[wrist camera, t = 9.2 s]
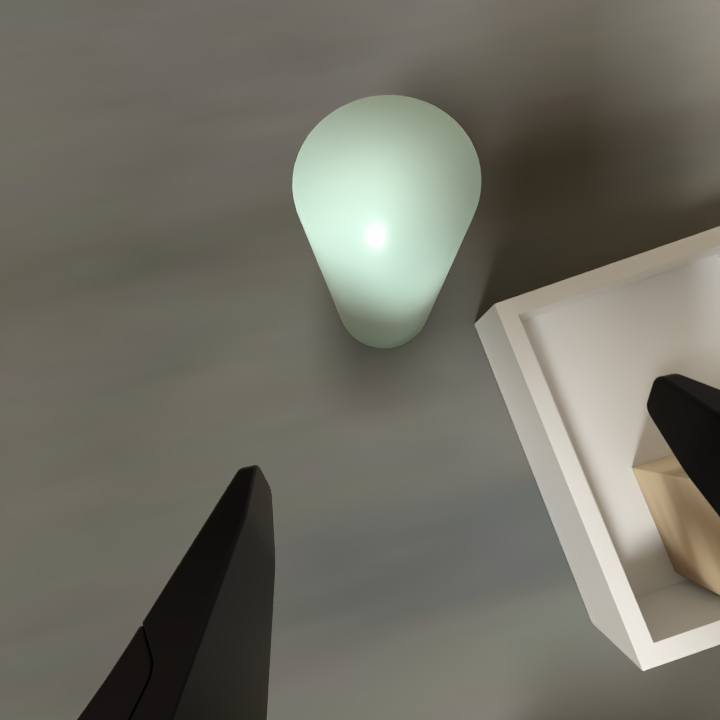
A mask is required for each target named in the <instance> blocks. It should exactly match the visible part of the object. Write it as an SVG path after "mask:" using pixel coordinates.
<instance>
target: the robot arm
mask: <svg viewBox="0 0 720 720" xmlns="http://www.w3.org/2000/svg"><path fill="white" fill-rule="evenodd" d="M647 410H648V413H649V415H650V417H651V418H652V420H653V421H654V423H655V425H656V426H657V428H658V430H659V431H660V433H661V434H662V436H663V438H664V439H665V441H666V442H667V444H668V446H669V447H670V449H671V451H672V452H673V454H674V455H675V457H676V459H677V460H678V462H679V463H680V465H681V466H682V468H683V469H684V471H685V472H686V474H687V475H688V477H689V478H690V479H691V481H692V482H693V483H694V485H695V486H696V487H697V489H698V490H699V491H700V492H701V494H702V495H703V496H704V498H705V499H706V500H707V502H708V503H709V504H710V505H711V507H712V508H713V509H714V511H715V512H716V513H717V514H718V516H719V517H720V389H717V388H715V387H712V386H709V385H707V384H704V383H702V382H699V381H696V380H694V379H691V378H689V377H686V376H683V375H680V374H668V375H664V376H659V377H657V378H656V379H655V380H654V382H653V384H652V388H651V391H650V394H649V397H648V400H647ZM274 579H275V545H274V527H273V510H272V494H271V489H270V486H269V484H268V482H267V480H266V479H265V477H264V475H263V473H262V471H261V469H260V467H259V466H257V465H253V466H249V467H244V468H241V469H240V470H238V472H237V473H236V475H235V476H234V478H233V479H232V481H231V483H230V484H229V486H228V487H227V489H226V491H225V492H224V494H223V495H222V497H221V499H220V500H219V502H218V503H217V505H216V507H215V508H214V510H213V511H212V513H211V514H210V516H209V518H208V519H207V521H206V522H205V524H204V526H203V527H202V529H201V530H200V532H199V534H198V535H197V537H196V538H195V540H194V542H193V543H192V545H191V546H190V548H189V549H188V551H187V553H186V554H185V556H184V557H183V559H182V561H181V562H180V564H179V565H178V567H177V569H176V570H175V572H174V573H173V575H172V577H171V578H170V580H169V581H168V583H167V584H166V586H165V588H164V589H163V591H162V592H161V594H160V596H159V597H158V599H157V600H156V602H155V604H154V605H153V607H152V608H151V610H150V612H149V613H148V615H147V616H146V618H145V620H144V621H143V626H141V627H139V629H138V630H137V632H136V634H135V635H134V637H133V638H132V640H131V642H130V643H129V645H128V646H127V648H126V649H125V651H124V652H123V654H122V655H121V657H120V659H119V660H118V662H117V663H116V665H115V666H114V668H113V669H112V671H111V672H110V674H109V675H108V677H107V678H106V680H105V681H104V683H103V684H102V685H101V687H100V688H99V690H98V691H97V693H96V694H95V695H94V697H93V698H92V700H91V701H90V702H89V704H88V705H87V707H86V708H85V710H84V711H83V712H82V714H81V715H80V717H79V718H78V719H77V720H267V702H268V685H269V667H270V649H271V632H272V614H273V596H274Z"/></svg>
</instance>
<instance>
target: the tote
mask: <svg viewBox="0 0 720 720" xmlns="http://www.w3.org/2000/svg"><path fill="white" fill-rule="evenodd" d="M475 327H476V329H477V332H478V335H479V337H480V340H481V342H482V345H483V347H484V350H485V352H486V355H487V357H488V360H489V362H490V365H491V368H492V370H493V373H494V375H495V378H496V380H497V383H498V385H499V388H500V390H501V393H502V396H503V398H504V401H505V403H506V406H507V408H508V411H509V413H510V416H511V418H512V421H513V423H514V426H515V429H516V431H517V434H518V436H519V439H520V441H521V444H522V446H523V449H524V451H525V454H526V456H527V459H528V462H529V464H530V467H531V469H532V472H533V474H534V477H535V479H536V482H537V484H538V487H539V489H540V492H541V495H542V497H543V500H544V502H545V505H546V507H547V510H548V512H549V515H550V517H551V520H552V523H553V525H554V528H555V530H556V533H557V535H558V538H559V540H560V543H561V545H562V548H563V550H564V553H565V556H566V558H567V561H568V563H569V566H570V568H571V571H572V573H573V576H574V578H575V581H576V583H577V586H578V589H579V591H580V594H581V596H582V599H583V601H584V604H585V606H586V609H587V611H588V614H589V616H590V619H591V622H592V623H593V624H594V625H595V626H596V627H597V628H598V629H599V630H600V631H602V632H603V633H604V634H605V635H606V636H607V637H608V638H609V639H610V640H611V641H612V642H613V643H614V644H615V645H616V646H617V647H618V648H619V649H620V650H621V651H622V652H623V653H624V654H626V655H627V656H628V657H629V658H630V659H631V660H632V661H633V662H634V663H635V664H636V665H637V666H638V667H639V668H640V669H641V670H642V671H645V670H648V669H651V668H654V667H656V666H659V665H662V664H665V663H668V662H671V661H674V660H677V659H679V658H682V657H685V656H688V655H691V654H694V653H697V652H700V651H703V650H705V649H708V648H711V647H714V646H717V645H720V595H719V594H717V593H715V592H713V591H711V590H709V589H707V588H705V587H703V586H701V585H699V584H697V583H695V582H693V581H692V580H690V579H688V578H686V577H684V576H682V575H680V574H678V573H676V572H675V571H674V568H673V566H672V563H671V561H670V559H669V556H668V554H667V551H666V549H665V547H664V544H663V542H662V540H661V537H660V535H659V532H658V530H657V528H656V525H655V523H654V520H653V518H652V516H651V513H650V511H649V509H648V506H647V504H646V501H645V499H644V497H643V494H642V492H641V489H640V487H639V485H638V482H637V480H636V478H635V475H634V473H633V470H632V468H633V467H636V466H639V465H642V464H645V463H648V462H651V461H654V460H657V459H660V458H663V457H666V456H669V455H672V454H673V452H672V451H671V449H670V447H669V446H668V444H667V442H666V441H665V439H664V438H663V436H662V434H661V433H660V431H659V430H658V428H657V426H656V425H655V423H654V421H653V420H652V418H651V417H650V415H649V413H648V410H647V400H648V397H649V394H650V391H651V388H652V384H653V382H654V380H655V379H656V378H657V377H659V376H664V375H668V374H680V375H683V376H686V377H689V378H691V379H694V380H696V381H699V382H702V383H704V384H707V385H709V386H712V387H715V388H717V389H720V226H719V227H716V228H713V229H710V230H707V231H704V232H701V233H698V234H696V235H693V236H690V237H687V238H684V239H681V240H678V241H675V242H672V243H669V244H667V245H664V246H661V247H658V248H655V249H652V250H649V251H646V252H643V253H641V254H638V255H635V256H632V257H629V258H626V259H623V260H620V261H617V262H614V263H612V264H609V265H606V266H603V267H600V268H597V269H594V270H591V271H588V272H586V273H583V274H580V275H577V276H574V277H571V278H568V279H565V280H562V281H559V282H557V283H554V284H551V285H548V286H545V287H542V288H539V289H536V290H533V291H530V292H528V293H525V294H522V295H519V296H516V297H513V298H510V299H507V300H504V301H502V302H499V303H496V304H494V305H493V306H492V307H491V308H490V309H489V310H488V311H487V312H486V313H485V314H484V315H483V316H482V317H481V318H480V319H479V320H478V321H477V322H476V323H475Z"/></svg>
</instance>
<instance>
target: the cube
mask: <svg viewBox="0 0 720 720" xmlns="http://www.w3.org/2000/svg"><path fill="white" fill-rule="evenodd" d="M632 470H633V473H634V475H635V478H636V480H637V482H638V485H639V487H640V489H641V492H642V494H643V497H644V499H645V501H646V504H647V506H648V509H649V511H650V513H651V516H652V518H653V520H654V523H655V525H656V528H657V530H658V532H659V535H660V537H661V540H662V542H663V544H664V547H665V549H666V551H667V554H668V556H669V559H670V561H671V563H672V566H673V568H674V571H675V572H676V573H678V574H680V575H682V576H684V577H686V578H688V579H690V580H692V581H693V582H695V583H697V584H699V585H701V586H703V587H705V588H707V589H709V590H711V591H713V592H715V593H717V594H719V595H720V517H719V516H718V514H717V513H716V512H715V511H714V509H713V508H712V507H711V505H710V504H709V503H708V502H707V500H706V499H705V498H704V496H703V495H702V494H701V492H700V491H699V490H698V489H697V487H696V486H695V485H694V483H693V482H692V481H691V479H690V478H689V477H688V475H687V474H686V472H685V471H684V469H683V468H682V466H681V465H680V463H679V462H678V460H677V459H676V457H675V455H674V454H672V455H669V456H666V457H663V458H660V459H657V460H654V461H651V462H648V463H645V464H642V465H639V466H636V467H633V468H632Z"/></svg>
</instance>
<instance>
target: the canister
mask: <svg viewBox="0 0 720 720" xmlns="http://www.w3.org/2000/svg"><path fill="white" fill-rule="evenodd" d="M480 193H481V169H480V164H479V159H478V156H477V153H476V150H475V148H474V146H473V144H472V142H471V140H470V138H469V137H468V135H467V134H466V132H465V131H464V130H463V128H462V127H461V126H460V125H459V124H458V123H457V122H456V121H455V120H454V119H453V118H452V117H450V116H449V115H448V114H447V113H445V112H444V111H442V110H441V109H439V108H437V107H436V106H434V105H432V104H429V103H427V102H425V101H422V100H419V99H416V98H412V97H406V96H399V95H378V96H372V97H366V98H363V99H359V100H356V101H353V102H351V103H348V104H346V105H344V106H342V107H340V108H338V109H337V110H335V111H333V112H332V113H331V114H329V115H328V116H327V117H325V118H324V119H323V120H322V121H321V122H320V123H319V124H318V125H317V126H316V127H315V128H314V129H313V130H312V132H311V133H310V134H309V135H308V137H307V138H306V140H305V142H304V143H303V145H302V147H301V149H300V152H299V154H298V156H297V160H296V163H295V166H294V172H293V197H294V202H295V206H296V210H297V213H298V215H299V218H300V220H301V223H302V225H303V227H304V230H305V232H306V235H307V237H308V240H309V242H310V245H311V247H312V250H313V252H314V254H315V257H316V259H317V262H318V264H319V267H320V269H321V272H322V274H323V277H324V279H325V281H326V284H327V286H328V289H329V291H330V294H331V296H332V299H333V301H334V303H335V306H336V308H337V311H338V313H339V316H340V318H341V321H342V323H343V325H344V327H345V328H346V330H347V331H348V332H349V334H350V335H351V336H352V337H353V338H355V339H356V340H357V341H359V342H361V343H362V344H364V345H367V346H369V347H373V348H379V349H389V348H395V347H398V346H401V345H403V344H406V343H407V342H409V341H411V340H412V339H413V338H414V337H416V335H417V334H418V333H419V332H420V331H421V330H422V328H423V327H424V325H425V323H426V321H427V319H428V317H429V314H430V312H431V310H432V308H433V305H434V303H435V301H436V299H437V296H438V294H439V292H440V290H441V288H442V285H443V283H444V281H445V279H446V276H447V274H448V272H449V270H450V267H451V265H452V263H453V261H454V259H455V256H456V254H457V252H458V250H459V247H460V245H461V243H462V241H463V238H464V236H465V234H466V232H467V229H468V227H469V225H470V223H471V221H472V218H473V216H474V213H475V211H476V208H477V206H478V202H479V198H480Z"/></svg>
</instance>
